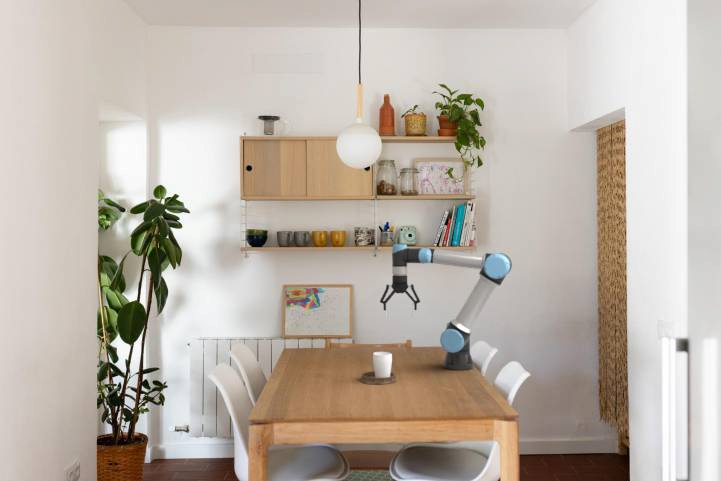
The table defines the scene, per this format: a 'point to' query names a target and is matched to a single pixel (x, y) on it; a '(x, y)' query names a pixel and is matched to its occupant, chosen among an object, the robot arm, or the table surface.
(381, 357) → the cup
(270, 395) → the table surface
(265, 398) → the table surface
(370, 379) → the round tray
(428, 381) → the table surface
